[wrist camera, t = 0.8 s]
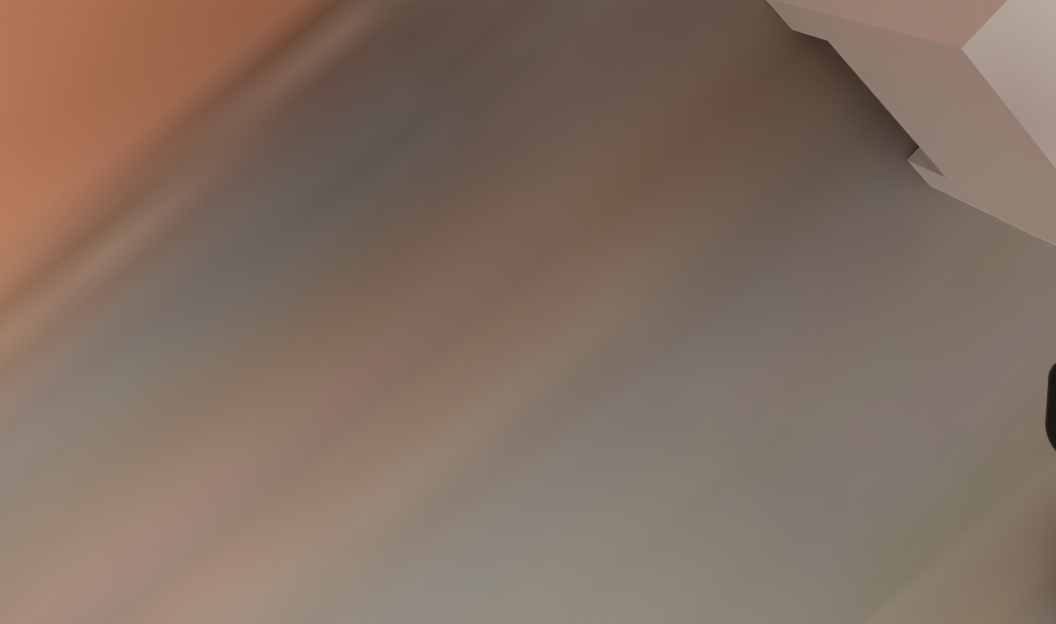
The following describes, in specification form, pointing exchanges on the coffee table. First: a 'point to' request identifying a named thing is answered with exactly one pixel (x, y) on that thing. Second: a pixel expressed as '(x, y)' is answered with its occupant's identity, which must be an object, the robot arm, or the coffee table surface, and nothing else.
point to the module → (959, 92)
